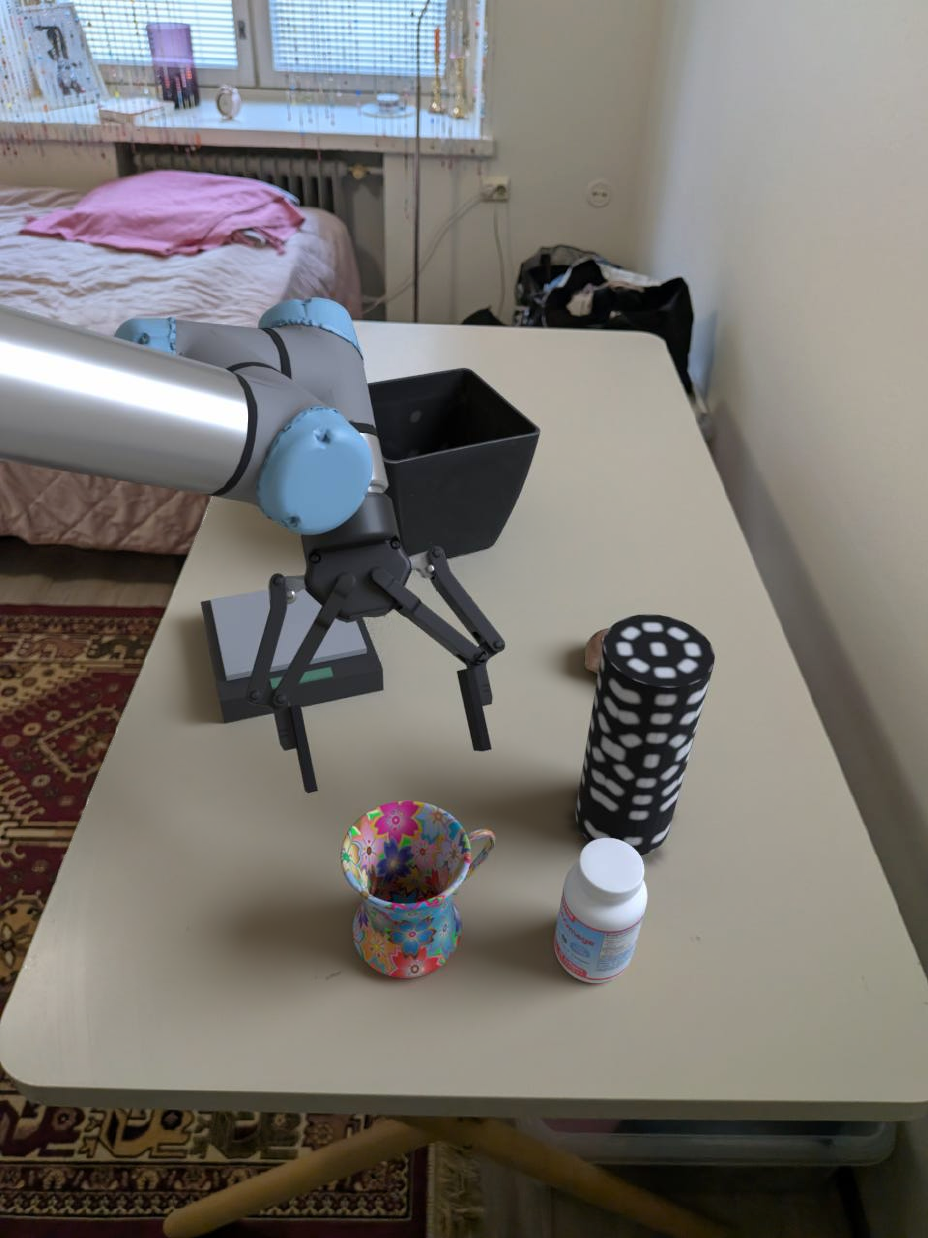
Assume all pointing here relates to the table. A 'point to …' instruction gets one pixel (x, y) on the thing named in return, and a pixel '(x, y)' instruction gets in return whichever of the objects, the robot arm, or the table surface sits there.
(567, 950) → the pill bottle
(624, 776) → the spotted tube
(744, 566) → the table surface
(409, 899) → the mug
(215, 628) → the scale
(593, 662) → the oil lamp
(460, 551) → the flower pot
